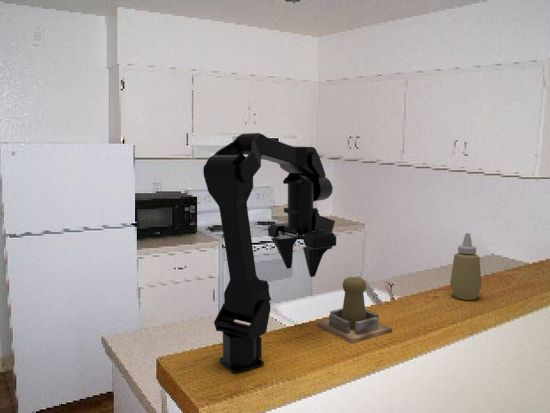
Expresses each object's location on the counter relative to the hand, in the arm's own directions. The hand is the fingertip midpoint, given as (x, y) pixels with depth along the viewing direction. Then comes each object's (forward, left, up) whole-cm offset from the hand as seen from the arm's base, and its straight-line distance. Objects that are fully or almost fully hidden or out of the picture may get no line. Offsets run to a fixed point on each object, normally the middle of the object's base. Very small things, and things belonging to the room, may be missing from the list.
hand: (300, 272), depth 104 cm
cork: (+10, -7, -12) cm, 17 cm away
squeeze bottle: (+52, -6, -13) cm, 54 cm away
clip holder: (+10, -7, -13) cm, 18 cm away
